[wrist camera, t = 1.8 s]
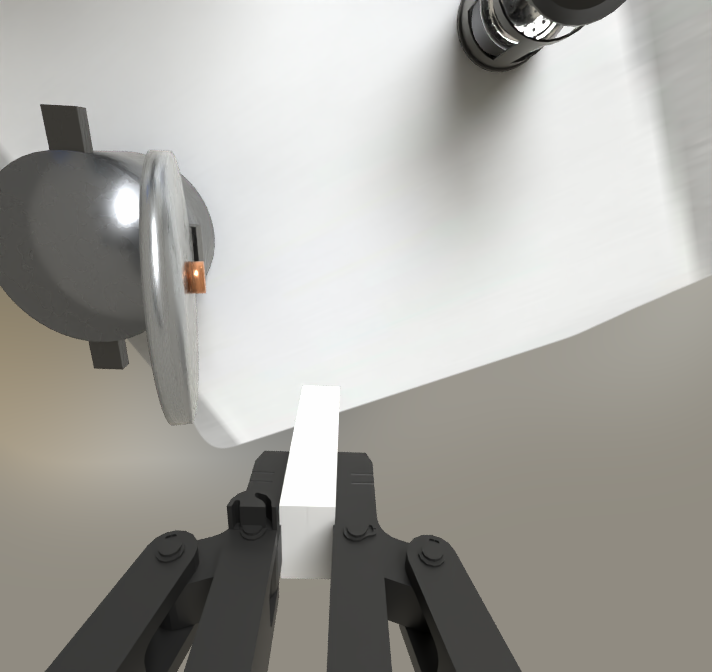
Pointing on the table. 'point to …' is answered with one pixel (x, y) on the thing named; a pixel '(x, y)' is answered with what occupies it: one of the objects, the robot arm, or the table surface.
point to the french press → (525, 26)
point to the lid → (169, 286)
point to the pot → (82, 236)
